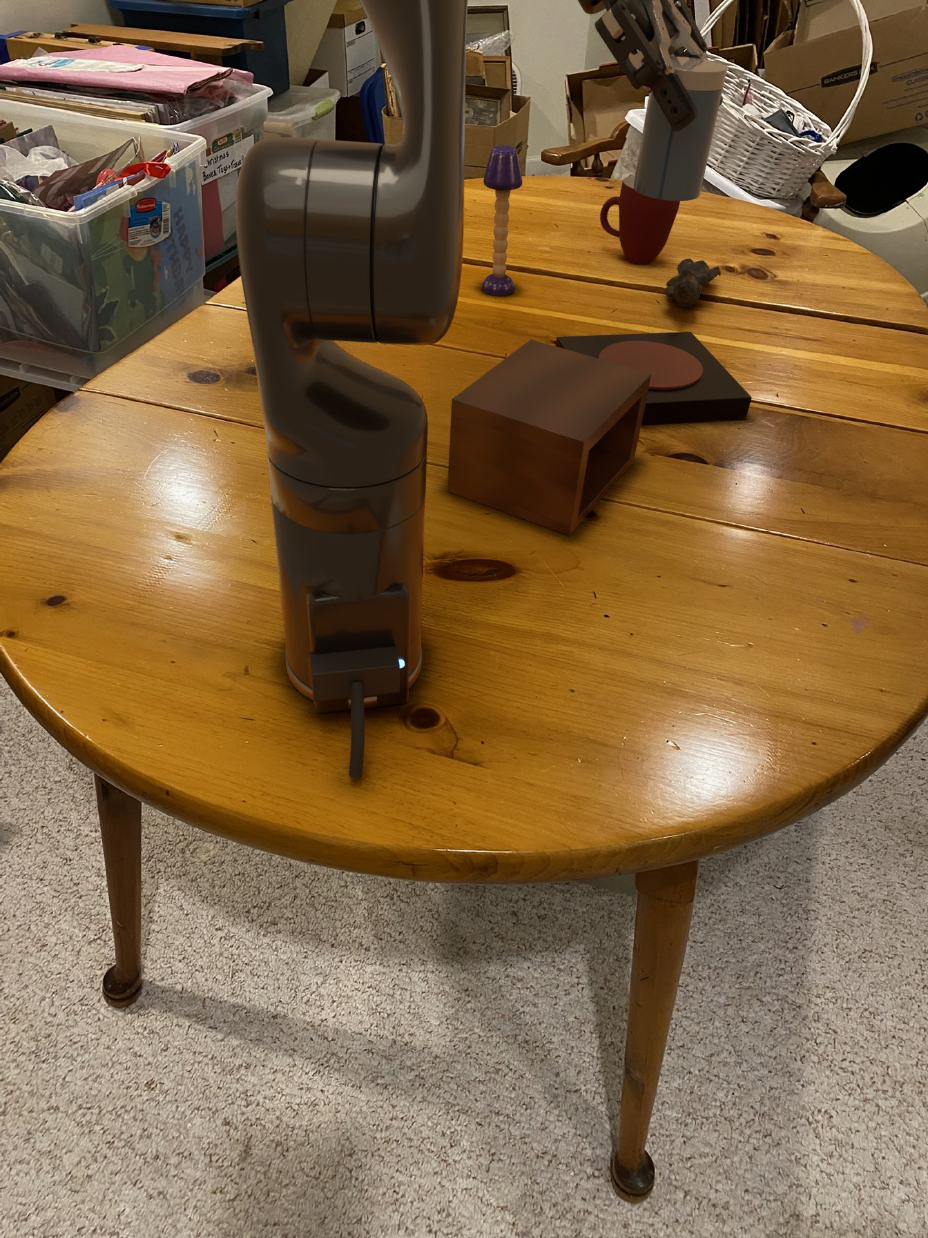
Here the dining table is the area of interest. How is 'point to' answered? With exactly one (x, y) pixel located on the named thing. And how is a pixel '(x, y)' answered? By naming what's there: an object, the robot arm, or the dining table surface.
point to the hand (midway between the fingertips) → (700, 116)
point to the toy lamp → (501, 213)
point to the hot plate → (671, 375)
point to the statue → (690, 281)
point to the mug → (640, 222)
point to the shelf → (546, 434)
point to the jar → (680, 136)
